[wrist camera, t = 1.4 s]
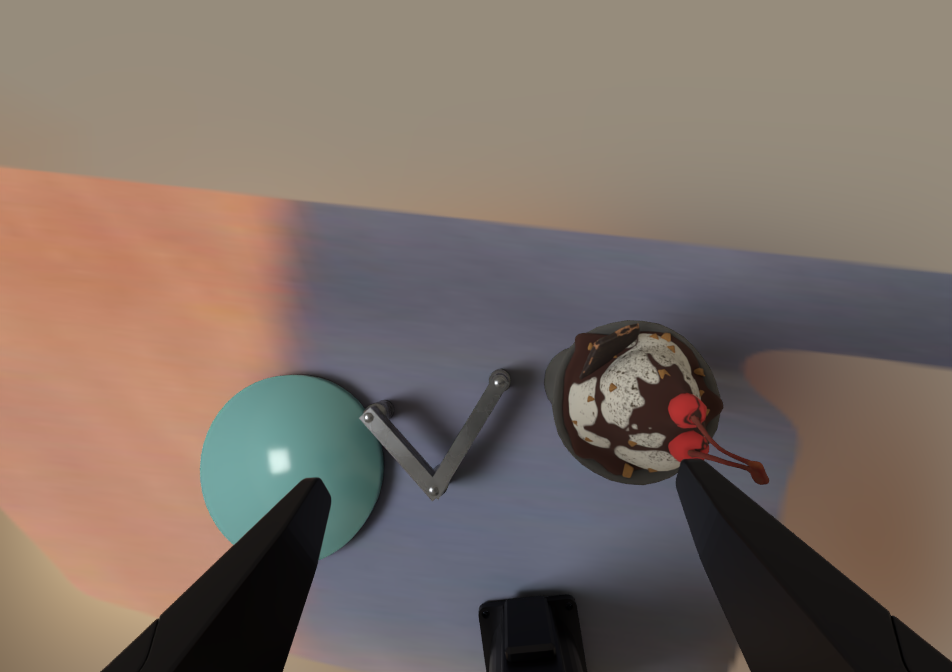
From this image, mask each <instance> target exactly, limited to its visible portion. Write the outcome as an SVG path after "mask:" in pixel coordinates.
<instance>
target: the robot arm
mask: <svg viewBox="0 0 952 672" xmlns="http://www.w3.org/2000/svg"><path fill="white" fill-rule="evenodd" d="M676 488H677V492H678V495H679V498H680V501H681V504H682V507H683V510H684V513H685V516H686V519H687V522H688V525H689V528H690V531H691V534H692V537H693V540H694V543H695V546H696V549H697V551H698V554H699V557H700V559H701V562H702V564H703V567H704V569H705V571H706V573H707V576H708V578H709V580H710V582H711V584H712V587H713V589H714V591H715V593H716V596H717V598H718V600H719V602H720V604H721V607H722V609H723V611H724V613H725V616H726V618H727V620H728V622H729V624H730V627H731V629H732V631H733V633H734V635H735V638H736V640H737V642H738V644H739V647H740V649H741V651H742V653H743V655H744V658H745V660H746V662H747V664H748V667H749V669H750V671H751V672H952V662H951V661H950V660H949V659H948V658H946V657H945V656H944V655H943V654H941V653H940V652H939V651H938V650H936V649H935V648H934V647H933V646H931V645H930V644H929V643H927V642H926V641H925V640H924V639H922V638H921V637H920V636H919V635H917V634H916V633H915V632H914V631H913V630H911V629H910V628H909V627H908V626H907V625H905V624H904V623H903V622H902V621H900V620H899V619H898V618H897V617H895V616H891V615H890V613H889V611H888V610H887V609H885V608H884V607H883V606H882V605H881V604H879V603H878V602H877V601H876V600H874V599H873V598H872V597H871V596H870V595H868V594H867V593H866V592H865V591H863V590H862V589H861V588H860V587H858V586H857V585H856V584H855V583H853V582H852V581H851V580H850V579H849V578H848V577H846V576H845V575H844V574H843V573H841V572H840V571H839V570H838V569H836V568H835V567H834V566H832V564H830V563H829V562H828V561H826V560H825V559H824V558H823V557H822V556H821V555H819V554H818V553H817V552H815V551H814V550H813V549H812V548H811V547H809V546H808V545H807V544H806V543H805V542H803V541H802V540H801V539H800V538H799V537H797V536H796V535H795V534H794V533H792V532H791V531H790V530H789V529H787V528H786V527H785V526H784V525H783V524H781V523H780V522H779V521H778V520H776V519H775V518H774V517H773V516H772V515H770V514H769V513H768V512H767V511H765V510H764V509H763V508H762V507H761V506H759V505H758V504H757V503H756V502H754V501H753V500H752V499H751V498H750V497H748V496H747V495H746V494H745V493H743V492H742V491H741V490H740V489H739V488H737V487H736V486H735V485H734V484H732V483H731V482H730V481H729V480H728V479H726V478H725V477H724V476H723V475H721V474H720V473H719V472H718V471H716V470H715V469H714V468H713V467H712V466H710V465H709V464H708V463H707V462H705V461H704V460H702V459H700V458H691V459H683V460H682V461H681V463H680V466H679V470H678V474H677V478H676ZM331 502H332V500H331V495H330V493H329V491H328V489H327V488H326V486H325V484H324V483H323V481H322V479H321V478H319V477H312V478H304V479H303V480H301V481H300V482H299V483H298V484H297V485H296V486H295V487H294V488H293V489H292V490H290V491H289V492H288V493H287V494H286V495H285V496H284V497H283V498H282V499H281V500H280V501H279V502H278V503H277V504H276V505H275V506H274V507H273V508H272V509H271V510H270V511H269V512H268V513H267V514H265V515H264V516H263V517H262V518H261V519H260V520H259V521H258V522H257V523H256V524H255V525H254V526H253V527H252V528H251V529H250V530H249V531H248V532H247V533H246V534H245V535H244V536H243V537H242V538H240V539H239V540H238V541H237V542H236V543H235V544H234V545H233V546H232V547H231V548H230V549H229V550H228V551H227V552H226V553H225V554H224V555H223V556H222V557H221V558H220V559H219V560H218V561H217V562H215V563H214V564H213V565H212V566H211V567H210V568H209V569H208V570H207V571H206V572H205V573H204V574H203V575H202V576H201V577H200V578H199V579H198V580H197V581H196V582H195V583H194V584H193V585H192V586H190V587H189V588H188V589H187V590H186V591H185V592H184V593H183V594H182V595H181V596H180V597H179V598H178V599H177V600H176V601H175V602H174V603H173V604H172V605H171V606H170V607H169V608H168V609H166V610H165V611H164V612H163V613H162V614H161V615H160V617H159V619H156V620H155V621H154V622H153V623H152V624H151V625H150V626H149V627H148V628H147V629H146V630H144V631H143V632H142V633H141V634H140V635H139V636H138V637H137V638H136V639H135V640H134V641H133V642H132V643H131V644H130V645H129V646H128V647H127V648H125V649H124V650H123V651H122V652H121V653H120V654H119V655H118V656H117V657H116V658H115V659H114V660H113V661H112V662H110V663H109V664H108V665H107V666H106V667H105V668H104V669H103V670H102V671H100V672H283V669H284V666H285V663H286V660H287V657H288V654H289V651H290V648H291V645H292V642H293V639H294V636H295V633H296V629H297V626H298V623H299V620H300V617H301V614H302V611H303V608H304V605H305V602H306V599H307V596H308V593H309V590H310V587H311V584H312V581H313V578H314V574H315V571H316V568H317V564H318V560H319V557H320V552H321V548H322V543H323V539H324V535H325V530H326V526H327V521H328V517H329V513H330V508H331ZM566 603H571V606H569V607H568V606H566ZM484 611H488V612H489V614H487V615H486V614H484V613H483V612H484ZM479 623H480V630H481V637H482V644H483V651H484V658H485V665H486V672H587V668H586V662H585V655H584V649H583V643H582V636H581V630H580V624H579V618H578V611H577V605H576V602H575V599H574V598H573V597H572V596H571V595H559V596H549V597H543V596H537V597H528V598H518V599H508V600H507V601H500V602H490V603H484V604H482V605H481V606H480V607H479Z"/></svg>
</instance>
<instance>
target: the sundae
mask: <svg viewBox="0 0 952 672" xmlns="http://www.w3.org/2000/svg"><path fill="white" fill-rule="evenodd" d="M544 386H545V391H546V394H547V397H548V399H549V400H550V402H551V403H552V408H553V414H554V420H555V425H556V428H557V432H558V435H559V436H560V438H561V440H562V442H563V444H564V445H565V447H566V448H567V449H568V451H569V452H570V453H571V454H572V456H574V457H575V458H576V459H577V460H578V461H579V462H580V463H581V464H582V465H583V466H585V467H587V468H588V469H590V470H591V471H593V472H594V473H596V474H598V475H600V476H602V477H604V478H606V479H609V480H611V481H615V482H620V483H624V484H633V485H646V484H651V483H656V482H659V481H662V480H665V479H668V478H670V477H672V476H673V475H675V474H676V473H678V470H679V466H680V463H681V461H682V460H683V459H691V458H700V459H702V460H704V459H707V460H711V461H715V462H718V463H721V464H725V465H728V466H732V467H736V468H741V469H744V470H747V471H748V472H749V473H751V476H752V479H753V480H754V481H755V482H756V483H757V484H760V485H763V484H768V483H769V478H768V476H767V474H766V472H765V469H764V467H763V465H762V464H761V463H760V462H757V461H750V460H748V459H745V458H742V457H740V456H737V455H735V454H732V453H730V452H728V451H726V450H725V449H723V448H722V447H720V446H719V445H718V444H717V443H716V442H715V441H714V440H713V439H712V438H713V436H714V434H715V432H716V430H717V427H718V422H719V417H720V413H721V411H722V409H723V402H722V400H721V399H720V394H719V391H718V387H717V384H716V381H715V378H714V376H713V374H712V372H711V370H710V367H709V366H708V365H707V363H706V362H705V360H704V359H703V357H702V356H701V355H700V354H699V352H698V351H697V350H696V349H695V348H694V346H693V345H692V344H690V343H689V342H688V341H687V340H686V339H685V338H684V337H683V336H681V335H680V334H678V333H677V332H675V331H673V330H671V329H669V328H667V327H665V326H663V325H660V324H657V323H651V322H645V321H630V320H626V321H621V322H615V323H610V324H607V325H603V326H600V327H597V328H595V329H593V330H591V331H589V332H587V333H581V334H578V335H577V336H576V338H575V342H574V344H573V345H572V346H571V347H570V348H568V349H565V350H563V351H562V352H560V353H559V354H557V355H556V356H555V357H554V358H553V359H552V360H551V362H550V363H549V365H548V367H547V369H546V372H545V379H544ZM709 443H711V444H712V445H713V446H714V447H716V448H717V449H718V450H719V451H721V452H722V453H724V454H726V455H728V456H730V457H732V458H734V459H736V460H738V461H741V462H743V463H745V464H747V465H748V466H746V465H742V464H738V463H734V462H731V461H727V460H724V459H721V458H718V457H716V456H713V455H709V454H708V452H709V445H708V444H709Z"/></svg>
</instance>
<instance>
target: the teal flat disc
mask: <svg viewBox="0 0 952 672" xmlns="http://www.w3.org/2000/svg"><path fill="white" fill-rule="evenodd" d="M364 410H365V408H364V407H363V406H362V404H361V403H360V402H359V401H358V400H357V399H356V398H355V397H354V396H353V395H352V394H351V393H349V392H348V391H347V390H345V389H344V388H342V387H341V386H339V385H337V384H335V383H333V382H331V381H329V380H326V379H323V378H320V377H315V376H310V375H298V374H297V375H285V376H276V377H271V378H267V379H264V380H261V381H258V382H256V383H254V384H252V385H250V386H248V387H246V388H244V389H243V390H242V391H240V392H239V393H237V394H236V395H235V396H234V397H233V398H231V399H230V400H229V401H228V402H227V403H226V404H225V406H224V407H223V408H222V409H221V410H220V411H219V413H218V414H217V416H216V418H215V419H214V421H213V422H212V424H211V426H210V428H209V431H208V433H207V435H206V438H205V441H204V444H203V449H202V454H201V462H200V481H201V487H202V493H203V497H204V500H205V504H206V506H207V509H208V511H209V513H210V516H211V517H212V519H213V521H214V522H215V524H216V526H217V527H218V528H219V530H220V531H221V532H222V534H223V535H224V536H225V537H226V538H227V539H228V540H229V541H230V542H231V543H232V544H233V545H234V544H235V543H236V542H237V541H238V540H239V539H240V538H242V537H243V536H244V535H245V534H246V533H247V532H248V531H249V530H250V529H251V528H252V527H253V526H254V525H255V524H256V523H257V522H258V521H259V520H260V519H261V518H262V517H263V516H264V515H265V514H267V513H268V512H269V511H270V510H271V509H272V508H273V507H274V506H275V505H276V504H277V503H278V502H279V501H280V500H281V499H282V498H283V497H284V496H285V495H286V494H287V493H288V492H289V491H290V490H292V489H293V488H294V487H295V486H296V485H297V484H298V483H299V482H300V481H301V480H303V479H304V478H312V477H319V478H321V479H322V481H323V483H324V484H325V486H326V488H327V489H328V491H329V493H330V495H331V500H332V502H331V508H330V513H329V517H328V521H327V526H326V530H325V535H324V539H323V543H322V548H321V552H320V557H319V560H320V559H323V558H325V557H327V556H329V555H331V554H333V553H334V552H336V551H337V550H339V549H340V548H342V547H343V546H344V545H345V544H346V543H347V542H348V541H350V540H351V539H352V538H353V536H354V535H355V534H356V533H357V532H358V531H359V529H360V528H361V527H362V526H363V524H364V523H365V522H366V520H367V519H368V517H369V516H370V514H371V513H372V511H373V509H374V507H375V505H376V502H377V500H378V497H379V494H380V491H381V486H382V481H383V473H384V458H383V450H382V445H381V443H380V441H379V440H378V439H377V438H376V437H375V436H374V435H373V434H372V432H371V431H370V430H369V429H368V428H367V427H366V426H365V424H364V423H363V422H362V421H361V420H360V419H359V418H360V417H361V416H362V413H363V411H364Z"/></svg>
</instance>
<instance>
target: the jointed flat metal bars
mask: <svg viewBox="0 0 952 672" xmlns="http://www.w3.org/2000/svg"><path fill="white" fill-rule="evenodd" d="M510 383H511V380H510V376H509V374H508V373H507V372H506V371H505V370H502V369H498V370H495V371H494V372H493V373H492V374H491V376H490V378H489V385H488V387H487V388H486V390H485V392H484V393H483V395H482V397H481V398H480V400H479V401H478V403H477V405H476V406H475V408H474V410H473V411H472V413H471V415H470V416H469V418H468V420H467V421H466V423H465V425H464V426H463V428H462V429H461V431H460V433H459V434H458V436H457V438H456V439H455V441H454V443H453V444H452V446H451V448H450V449H449V451H448V453H447V454H446V456H445V457H444V459H443V461H442V462H441V464H440V465H437V466H436V467H435V468H434V469H433V468H432V467H431V466H430V465H429V464H428V463H427V462H426V461H425V460H424V458H423V457H422V456H421V455H420V454H419V453H418V452H417V451H416V449H415V448H414V447H413V446H412V445H411V444H410V443H409V442H408V440H407V439H406V438H405V437H404V436H403V435H402V434H401V433H400V432H399V430H398V429H397V428H396V427H395V426H394V425H393V424H392V423H391V421H390V420H389V418H391V417H392V415H393V413H394V407H393V405H392V403H391V402H389V401H387V400H382V401H379V402H377V403H374V404H371V405H369V406H368V407H367V408H366V409H365V410H364V411H363V413H362V416H361V417H360V418H359V419H360V420H361V421H362V422H363V423H364V424H365V426H366V427H367V428H368V429H369V430H370V431H371V432H372V434H373V435H374V436H375V437H376V438H377V439H378V440H379V441H380V443H381V444H382V445H383V446H384V447H385V448H386V449H387V451H388V452H389V453H390V454H391V455H392V456H393V457H394V458H395V460H396V461H397V462H398V463H399V464H400V465H401V466H402V468H403V469H404V470H405V471H406V472H407V473H408V474H409V475H410V477H411V478H412V479H413V480H414V481H415V482H416V483H417V484H418V486H419V487H420V488H421V489H422V490H423V491H424V492H425V494H426V495H427V496H428V497H429V498H430V499H431V500H432V501H433V500H434V499H436V498H437V499H439V498H440V497H441V496H442V495H443V494H444V493H445V492H446V490H447V488H448V485H449V483H450V481H451V478H452V476H453V474H454V473H455V471H456V470H457V468H458V466H459V465H460V463H461V461H462V460H463V458H464V456H465V455H466V453H467V451H468V450H469V448H470V446H471V445H472V443H473V442H474V440H475V438H476V437H477V435H478V433H479V432H480V430H481V428H482V427H483V425H484V423H485V422H486V420H487V418H488V417H489V415H490V413H491V412H492V410H493V409H494V407H495V405H496V404H497V402H498V400H499V399H500V397H501V395H502V394H503V392H504V391H506V390H507V389H508V388H509V386H510Z"/></svg>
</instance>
